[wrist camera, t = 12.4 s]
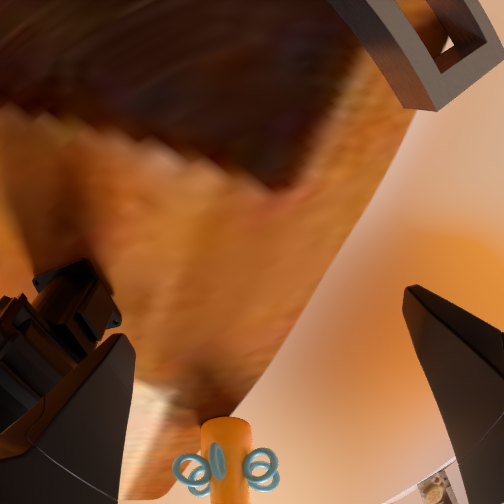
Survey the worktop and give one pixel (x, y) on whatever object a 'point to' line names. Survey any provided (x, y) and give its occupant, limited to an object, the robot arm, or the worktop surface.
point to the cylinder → (228, 463)
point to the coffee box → (437, 490)
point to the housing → (415, 53)
